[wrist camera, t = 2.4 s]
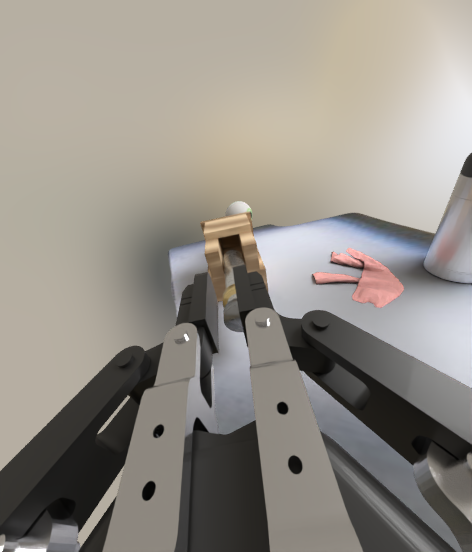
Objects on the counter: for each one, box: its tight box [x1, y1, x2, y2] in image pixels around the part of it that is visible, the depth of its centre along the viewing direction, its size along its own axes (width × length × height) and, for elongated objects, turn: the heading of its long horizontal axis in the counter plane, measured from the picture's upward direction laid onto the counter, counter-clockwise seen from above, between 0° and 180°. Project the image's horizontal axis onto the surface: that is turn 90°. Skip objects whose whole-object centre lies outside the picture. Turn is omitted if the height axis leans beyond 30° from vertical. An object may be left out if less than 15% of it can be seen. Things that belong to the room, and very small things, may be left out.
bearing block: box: [200, 211, 268, 302], centre depth 46 cm, size 14×12×14 cm
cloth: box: [313, 248, 404, 308], centre depth 44 cm, size 20×22×2 cm
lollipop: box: [226, 201, 252, 220], centre depth 56 cm, size 7×7×15 cm
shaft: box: [223, 250, 244, 332], centre depth 35 cm, size 17×5×5 cm, turn 6°
